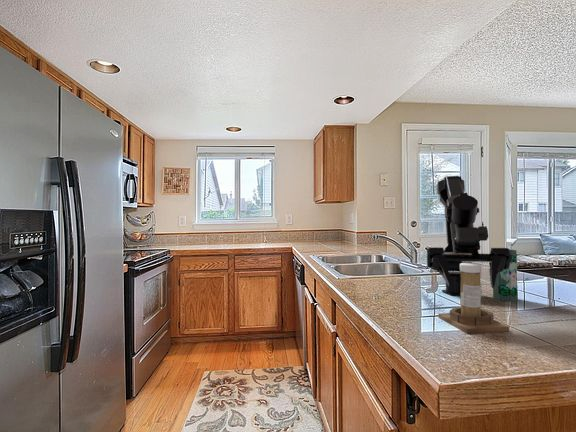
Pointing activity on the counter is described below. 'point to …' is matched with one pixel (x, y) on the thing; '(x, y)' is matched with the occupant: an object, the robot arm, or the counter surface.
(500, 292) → the can
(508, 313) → the counter surface
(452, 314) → the holder
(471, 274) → the sprinkles bottle
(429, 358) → the counter surface
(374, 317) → the counter surface
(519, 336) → the counter surface
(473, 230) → the robot arm
